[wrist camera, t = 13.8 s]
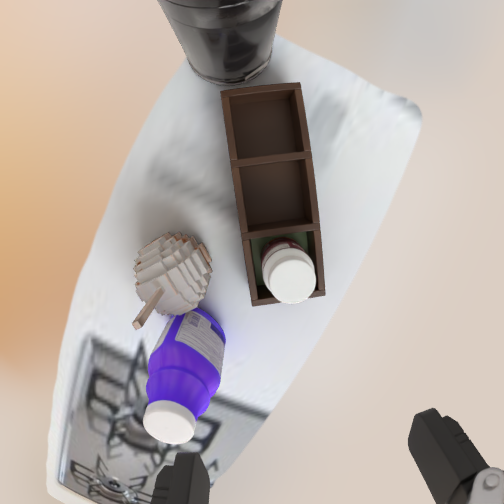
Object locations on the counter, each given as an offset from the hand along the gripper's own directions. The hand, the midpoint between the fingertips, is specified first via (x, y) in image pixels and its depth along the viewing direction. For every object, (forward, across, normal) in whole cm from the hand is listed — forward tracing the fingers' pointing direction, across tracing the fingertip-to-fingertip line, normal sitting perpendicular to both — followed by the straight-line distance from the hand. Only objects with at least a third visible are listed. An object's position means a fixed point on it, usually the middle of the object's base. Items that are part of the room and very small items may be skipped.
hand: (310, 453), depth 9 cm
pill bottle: (+26, -2, 0) cm, 26 cm away
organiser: (+27, -2, -7) cm, 28 cm away
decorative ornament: (+27, +10, 0) cm, 28 cm away
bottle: (+27, +9, +8) cm, 29 cm away
